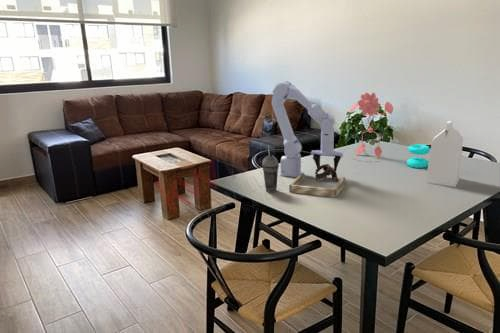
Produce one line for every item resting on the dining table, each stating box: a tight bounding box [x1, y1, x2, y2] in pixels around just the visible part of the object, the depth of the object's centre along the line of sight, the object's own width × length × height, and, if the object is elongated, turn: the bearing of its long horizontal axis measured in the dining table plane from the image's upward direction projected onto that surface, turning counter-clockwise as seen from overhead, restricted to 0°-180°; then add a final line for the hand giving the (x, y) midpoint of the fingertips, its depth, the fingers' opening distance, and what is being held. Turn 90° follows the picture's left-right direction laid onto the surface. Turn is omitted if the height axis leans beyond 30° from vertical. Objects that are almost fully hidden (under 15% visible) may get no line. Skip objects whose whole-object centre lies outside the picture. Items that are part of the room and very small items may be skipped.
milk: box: [425, 120, 464, 188], centre depth 163 cm, size 12×12×26 cm
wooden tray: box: [288, 173, 346, 198], centre depth 165 cm, size 20×17×3 cm
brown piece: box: [314, 163, 339, 182], centre depth 175 cm, size 12×10×8 cm
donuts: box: [406, 143, 431, 169], centre depth 187 cm, size 10×10×10 cm
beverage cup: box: [261, 144, 280, 193], centre depth 162 cm, size 7×7×20 cm
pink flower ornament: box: [348, 92, 394, 163], centre depth 201 cm, size 15×26×35 cm, turn 43°
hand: (326, 170), depth 178 cm, fingers open, 7 cm apart
